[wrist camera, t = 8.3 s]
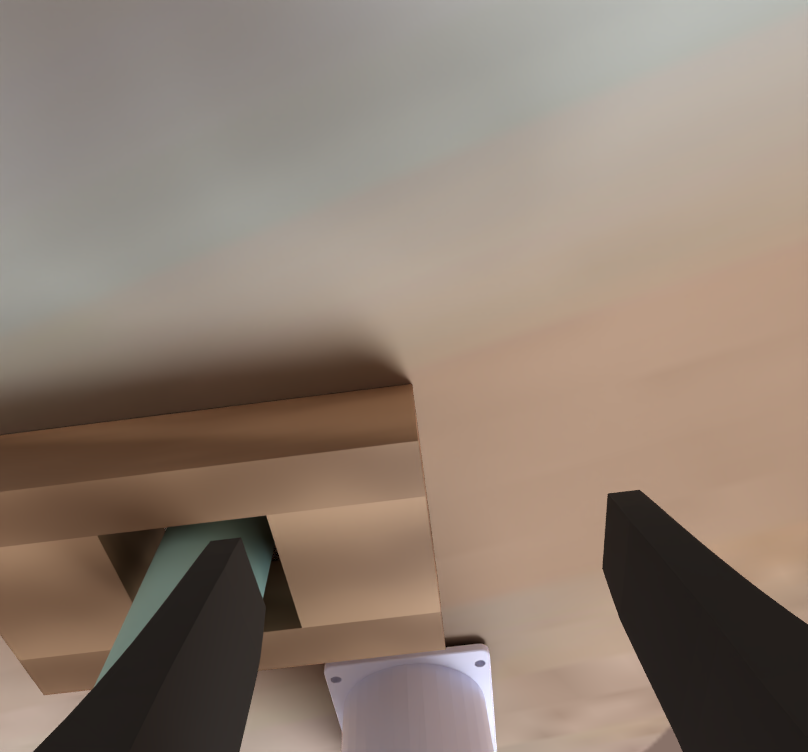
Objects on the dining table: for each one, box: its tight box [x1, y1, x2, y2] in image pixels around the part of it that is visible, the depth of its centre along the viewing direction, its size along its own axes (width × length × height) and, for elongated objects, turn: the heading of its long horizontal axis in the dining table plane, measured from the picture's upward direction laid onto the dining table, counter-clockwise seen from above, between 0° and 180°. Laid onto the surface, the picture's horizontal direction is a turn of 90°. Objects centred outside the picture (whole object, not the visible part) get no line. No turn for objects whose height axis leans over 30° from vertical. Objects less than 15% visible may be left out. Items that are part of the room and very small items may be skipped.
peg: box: [94, 515, 275, 687], centre depth 19 cm, size 4×4×8 cm
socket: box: [0, 384, 446, 695], centre depth 21 cm, size 10×16×4 cm, turn 97°
